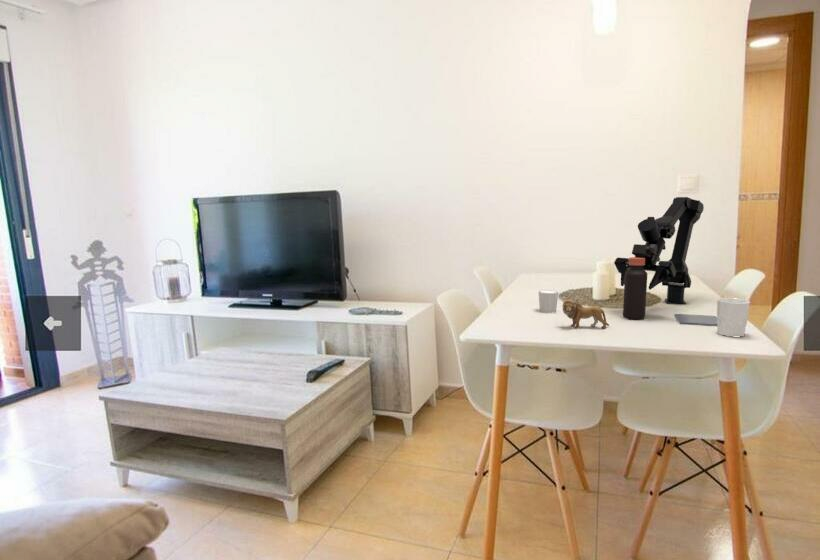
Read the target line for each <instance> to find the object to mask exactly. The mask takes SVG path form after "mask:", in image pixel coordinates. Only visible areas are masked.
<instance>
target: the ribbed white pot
mask: <svg viewBox="0 0 820 560" xmlns="http://www.w3.org/2000/svg"><path fill="white" fill-rule="evenodd" d="M558 300H559V291H557V290H551V289H550V290H548V289H545V290H538V303H539V304H538V305H539V306H538V307H539V312H542V313H549V314H550V313H551V314H552V313H556V312H557V308H558V307H557V305H558Z"/></svg>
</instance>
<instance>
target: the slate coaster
mask: <svg viewBox="0 0 820 560" xmlns="http://www.w3.org/2000/svg"><path fill="white" fill-rule="evenodd" d="M674 317H675V318H676V320H677V322H678V323H679V324H680V325H689V326H690V325H691V326H692V325H693V326H706V327H707V326H709V327H717V325H718V324H717V315H704V314H703V315H702V314H687V313H684V314H683V313H674Z"/></svg>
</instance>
